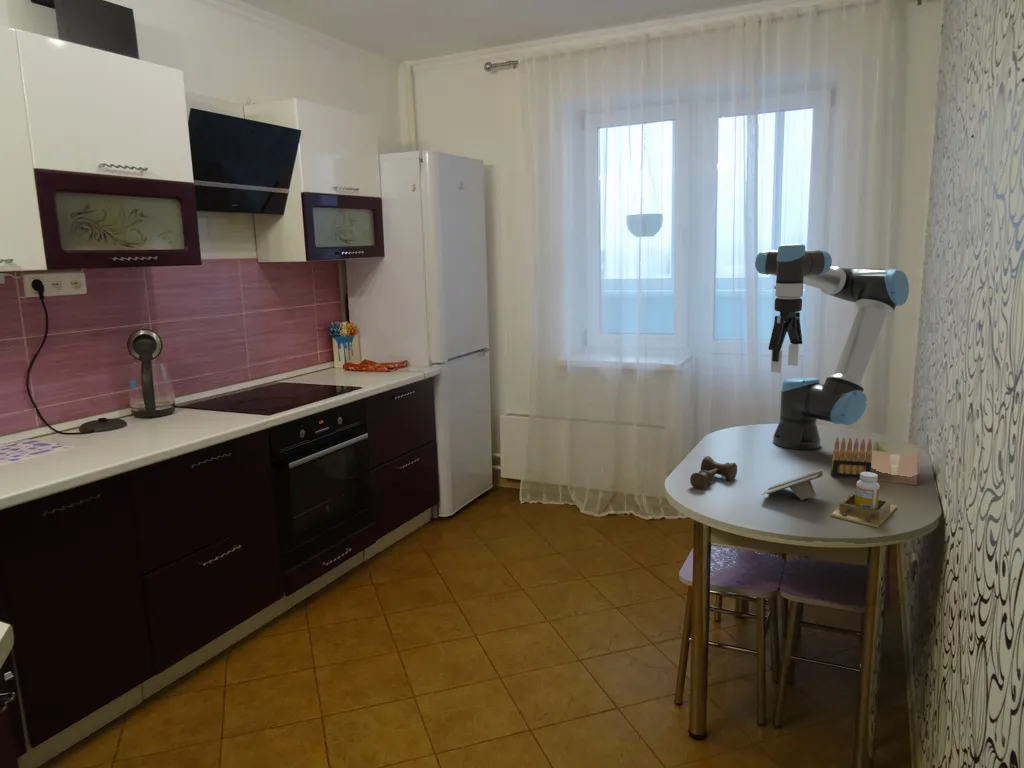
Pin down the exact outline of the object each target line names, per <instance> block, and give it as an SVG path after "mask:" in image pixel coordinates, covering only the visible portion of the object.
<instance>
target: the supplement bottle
mask: <svg viewBox="0 0 1024 768" xmlns="http://www.w3.org/2000/svg"><path fill="white" fill-rule="evenodd" d="M878 479H879V478H878V474H877V473H875V472H872V471H871V472H861V473H860V478H859V480H857V481H856V485H855V491H854V492H855V493H854V494H855V504H854V506H858V507H863V508H867V509H872V510H876V511H877V510H878V499H880V489H881V488H880V487H881V486H880V484H879V483H878Z"/></svg>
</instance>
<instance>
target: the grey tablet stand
mask: <svg viewBox="0 0 1024 768" xmlns="http://www.w3.org/2000/svg"><path fill="white" fill-rule="evenodd" d="M823 471H824V468H822V469H818V470H814V471H812V472H809V473H805V474H803V475H800V476H798V477H795V478H791V479H788V480H785V481H782V482H778V483H776V484H773V485H770V486H769V487H767V490H765V491H764V492H763V493H762V494H761V496H763V495H770V494H774V493H776V492H779V491H783V490H785V489H788V488H789V489H790V490H791V491H792V492H793V493H794V494H795V495H796V496H797V497H798V498H799V500H800V501H804V500H807V499H810V498H813V497H815V496H816V495H817V494H816V491H815V489H814V487H813V484H812V480H816V479H819V478H821V477H823V476H824V473H823Z"/></svg>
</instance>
